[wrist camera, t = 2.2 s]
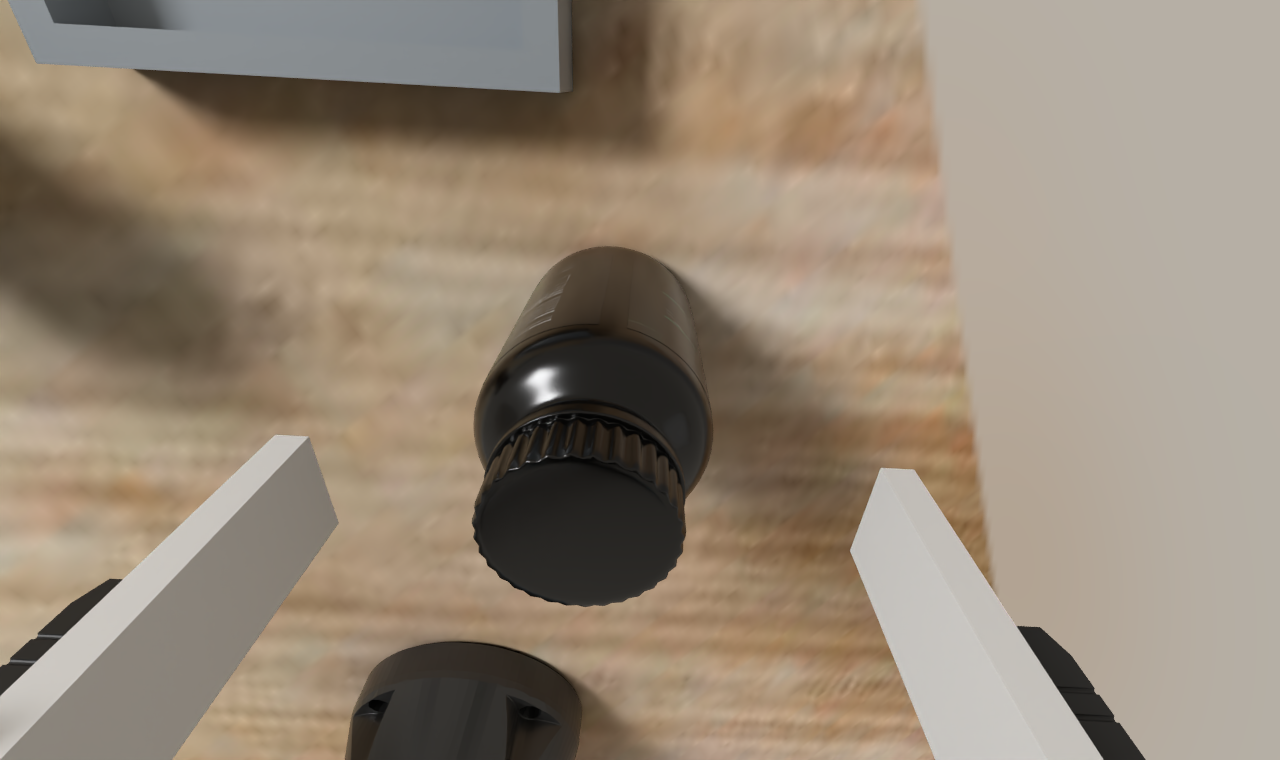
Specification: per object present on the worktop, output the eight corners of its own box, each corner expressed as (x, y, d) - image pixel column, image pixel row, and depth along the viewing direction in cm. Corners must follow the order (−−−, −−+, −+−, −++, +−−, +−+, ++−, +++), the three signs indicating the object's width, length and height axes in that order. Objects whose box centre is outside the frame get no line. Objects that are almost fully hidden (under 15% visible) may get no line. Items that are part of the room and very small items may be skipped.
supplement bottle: (548, 397, 24) (471, 641, 13) (514, 251, 20) (375, 426, 10) (696, 384, 23) (735, 626, 13) (686, 233, 20) (729, 396, 10)
